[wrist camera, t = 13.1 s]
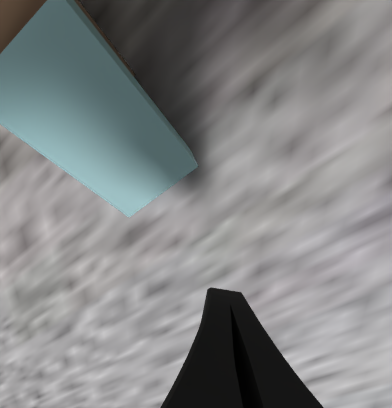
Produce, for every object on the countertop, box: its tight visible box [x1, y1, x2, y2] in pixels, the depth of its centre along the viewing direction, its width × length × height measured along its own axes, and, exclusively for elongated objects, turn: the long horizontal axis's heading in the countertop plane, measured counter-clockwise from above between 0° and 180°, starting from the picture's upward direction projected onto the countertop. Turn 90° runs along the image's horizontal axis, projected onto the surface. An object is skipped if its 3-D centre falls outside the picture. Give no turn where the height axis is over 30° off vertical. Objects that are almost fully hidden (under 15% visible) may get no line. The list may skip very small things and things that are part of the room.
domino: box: [0, 0, 135, 77], centre depth 8 cm, size 2×4×7 cm
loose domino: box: [0, 0, 198, 217], centre depth 9 cm, size 2×4×7 cm
